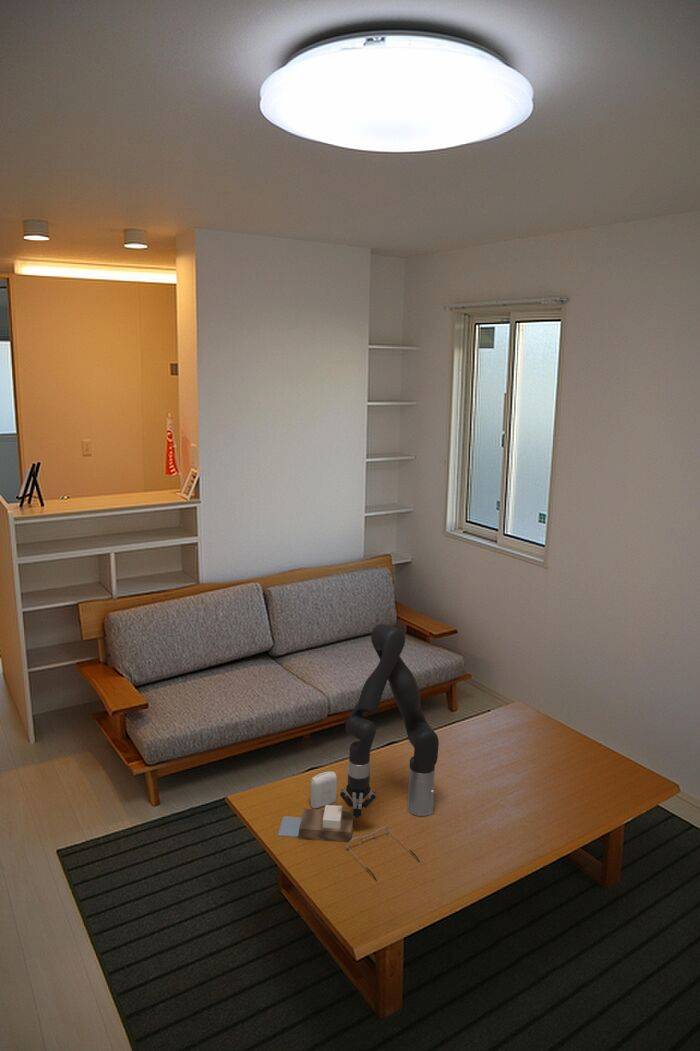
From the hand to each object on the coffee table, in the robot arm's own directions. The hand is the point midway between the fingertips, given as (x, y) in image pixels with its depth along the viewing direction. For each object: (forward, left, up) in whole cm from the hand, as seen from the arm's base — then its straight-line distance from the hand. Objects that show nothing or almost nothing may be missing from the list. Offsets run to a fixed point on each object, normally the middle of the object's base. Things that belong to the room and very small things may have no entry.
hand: (357, 816), depth 265 cm
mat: (+24, 0, -6) cm, 24 cm away
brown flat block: (+11, 0, -6) cm, 12 cm away
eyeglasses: (-10, +12, -7) cm, 17 cm away
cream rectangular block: (+9, 0, -1) cm, 9 cm away
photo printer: (+14, -16, -6) cm, 22 cm away
